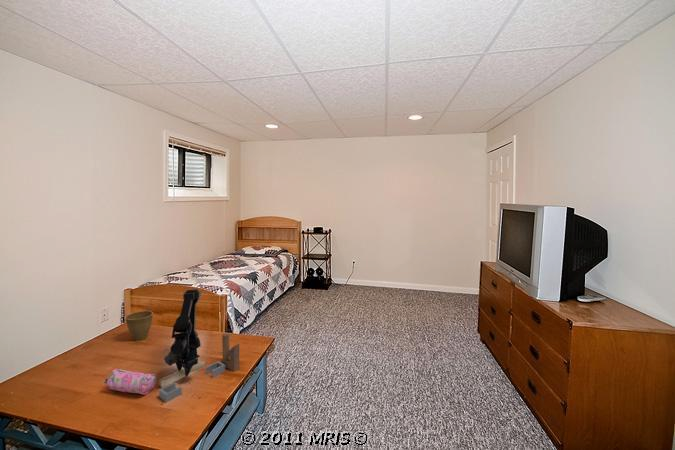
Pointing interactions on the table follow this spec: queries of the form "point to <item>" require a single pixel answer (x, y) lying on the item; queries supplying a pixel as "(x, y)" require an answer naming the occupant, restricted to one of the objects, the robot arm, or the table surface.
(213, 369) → the endcap
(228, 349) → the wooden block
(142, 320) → the plant pot
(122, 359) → the table surface
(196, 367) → the slat
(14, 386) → the table surface
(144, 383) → the pencil case
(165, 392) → the endcap
